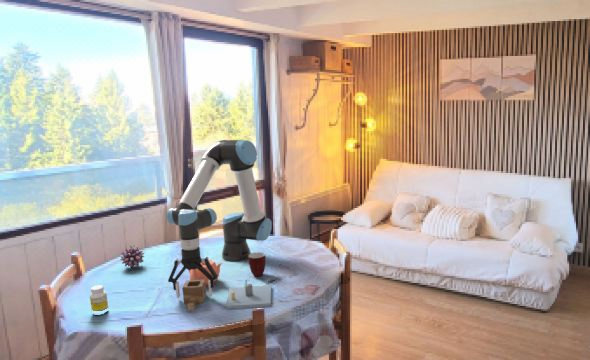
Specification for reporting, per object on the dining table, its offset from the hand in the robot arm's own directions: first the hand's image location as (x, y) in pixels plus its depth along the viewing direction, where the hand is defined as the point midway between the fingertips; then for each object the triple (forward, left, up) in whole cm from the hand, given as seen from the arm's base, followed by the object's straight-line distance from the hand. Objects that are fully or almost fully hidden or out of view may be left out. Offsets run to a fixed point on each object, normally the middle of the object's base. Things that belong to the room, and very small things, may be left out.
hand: (194, 296), depth 190 cm
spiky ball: (-43, -39, -2) cm, 58 cm away
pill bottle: (+7, -37, -2) cm, 38 cm away
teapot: (-16, +1, -2) cm, 16 cm away
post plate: (+2, +23, -2) cm, 23 cm away
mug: (-21, +26, -2) cm, 34 cm away
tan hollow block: (+3, 0, -2) cm, 3 cm away
